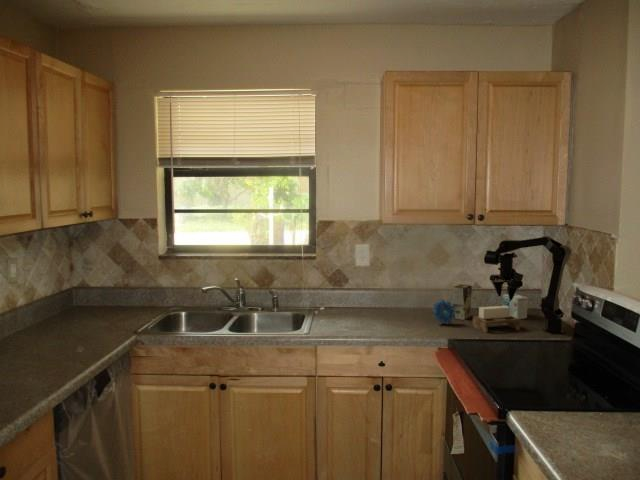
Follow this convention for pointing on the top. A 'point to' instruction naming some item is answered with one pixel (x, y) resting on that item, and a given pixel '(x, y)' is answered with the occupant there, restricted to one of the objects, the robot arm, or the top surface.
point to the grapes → (444, 311)
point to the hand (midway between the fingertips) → (505, 298)
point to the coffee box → (462, 301)
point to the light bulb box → (516, 305)
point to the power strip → (494, 312)
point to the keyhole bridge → (483, 324)
